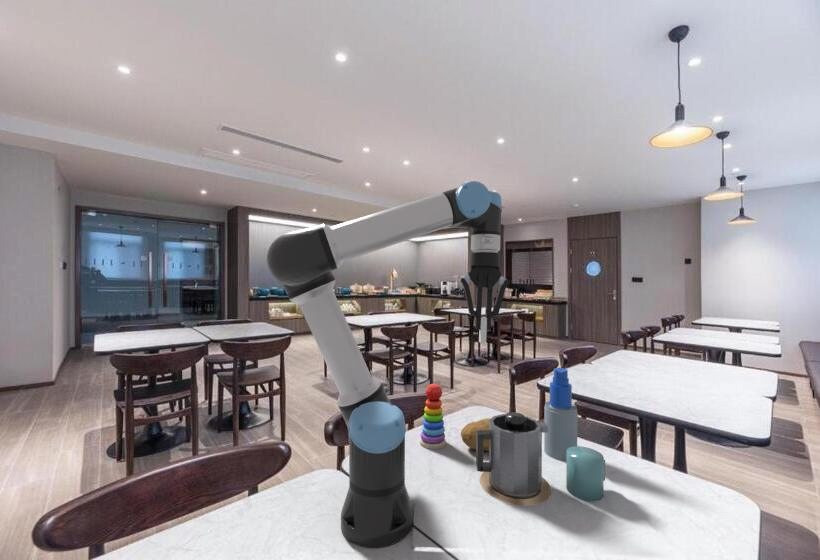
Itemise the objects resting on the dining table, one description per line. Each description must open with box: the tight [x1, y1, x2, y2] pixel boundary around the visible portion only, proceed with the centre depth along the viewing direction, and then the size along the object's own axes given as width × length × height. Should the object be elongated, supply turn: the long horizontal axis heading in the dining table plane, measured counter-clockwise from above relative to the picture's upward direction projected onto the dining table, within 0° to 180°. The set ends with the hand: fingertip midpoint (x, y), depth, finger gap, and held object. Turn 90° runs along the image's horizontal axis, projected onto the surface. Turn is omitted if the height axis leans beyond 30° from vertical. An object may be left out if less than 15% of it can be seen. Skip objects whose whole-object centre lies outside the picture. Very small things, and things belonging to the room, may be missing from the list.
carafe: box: [475, 413, 548, 499], centre depth 90 cm, size 17×12×15 cm
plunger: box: [505, 411, 525, 432], centre depth 90 cm, size 9×9×12 cm
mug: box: [565, 445, 606, 502], centre depth 87 cm, size 10×8×10 cm
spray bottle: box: [543, 367, 578, 462], centre depth 106 cm, size 9×9×25 cm
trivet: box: [479, 472, 553, 507], centre depth 90 cm, size 17×17×1 cm
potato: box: [460, 417, 492, 452], centre depth 109 cm, size 9×16×9 cm, turn 88°
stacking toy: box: [419, 383, 447, 450], centre depth 112 cm, size 8×8×19 cm
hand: (482, 342), depth 95 cm, fingers closed
